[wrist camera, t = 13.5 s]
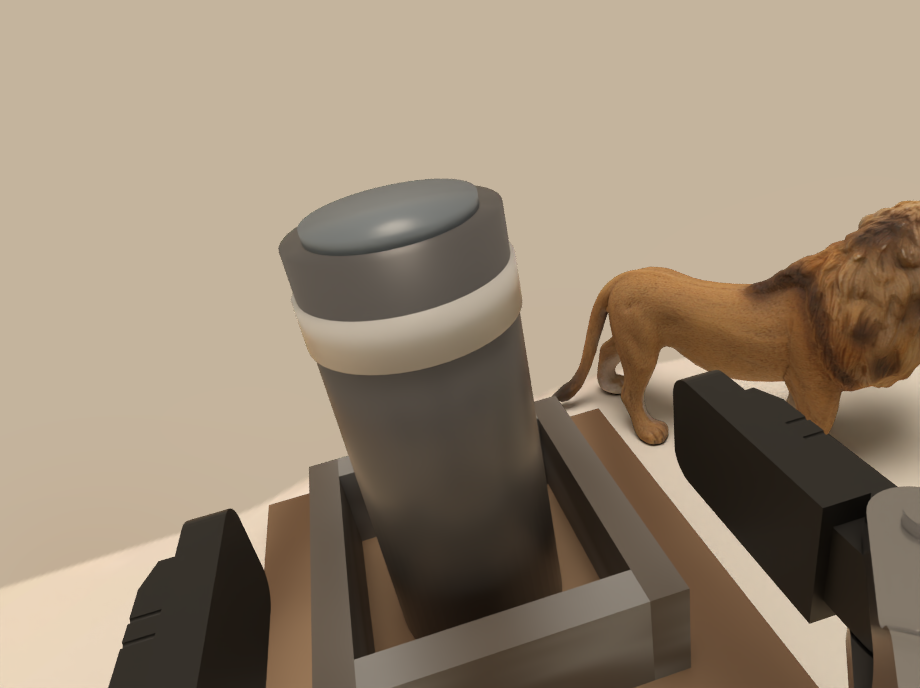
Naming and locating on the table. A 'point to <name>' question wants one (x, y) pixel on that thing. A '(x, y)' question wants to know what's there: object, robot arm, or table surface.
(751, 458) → the robot arm
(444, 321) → the grey thermos
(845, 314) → the lion figurine
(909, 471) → the table surface
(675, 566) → the mount
